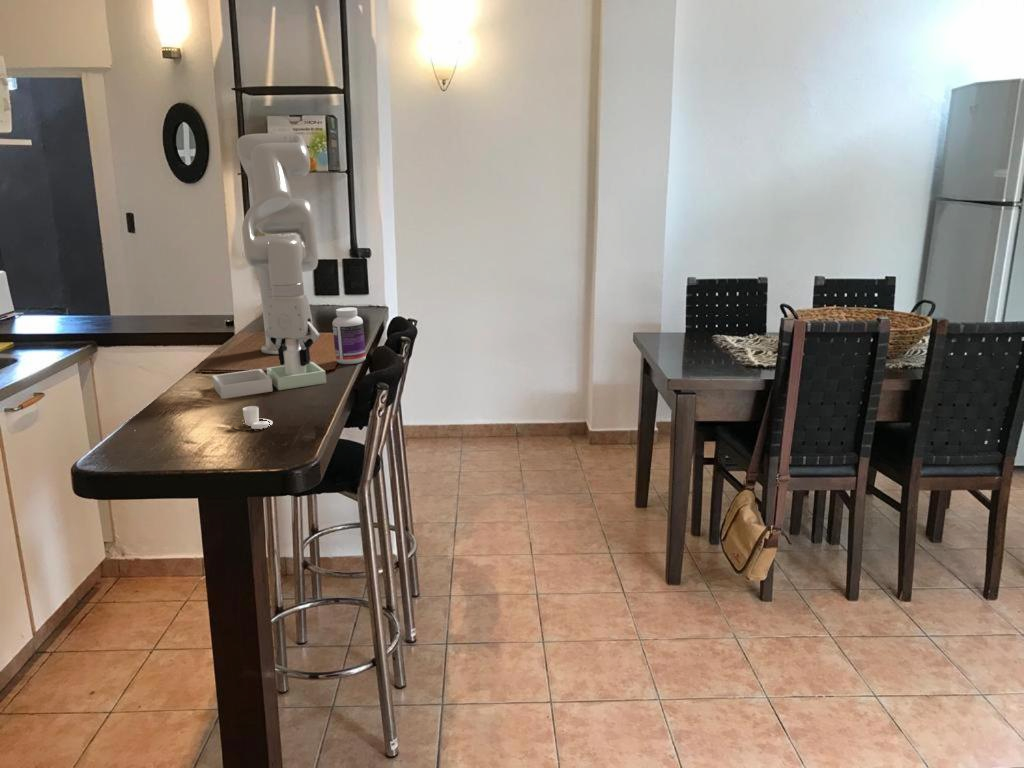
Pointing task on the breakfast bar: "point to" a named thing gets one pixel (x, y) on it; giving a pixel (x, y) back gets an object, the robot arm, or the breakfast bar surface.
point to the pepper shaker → (293, 358)
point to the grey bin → (242, 383)
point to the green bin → (296, 377)
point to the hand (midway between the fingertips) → (294, 363)
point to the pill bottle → (348, 336)
